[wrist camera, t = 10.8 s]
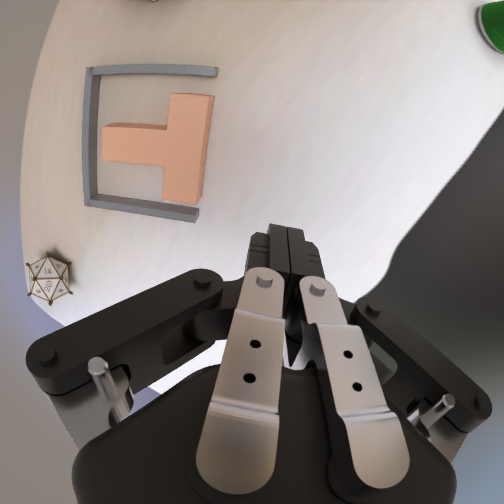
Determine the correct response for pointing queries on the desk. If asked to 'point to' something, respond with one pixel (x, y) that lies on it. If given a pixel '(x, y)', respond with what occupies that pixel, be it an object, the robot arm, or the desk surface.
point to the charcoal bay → (91, 143)
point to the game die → (49, 278)
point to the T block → (168, 145)
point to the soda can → (493, 24)
